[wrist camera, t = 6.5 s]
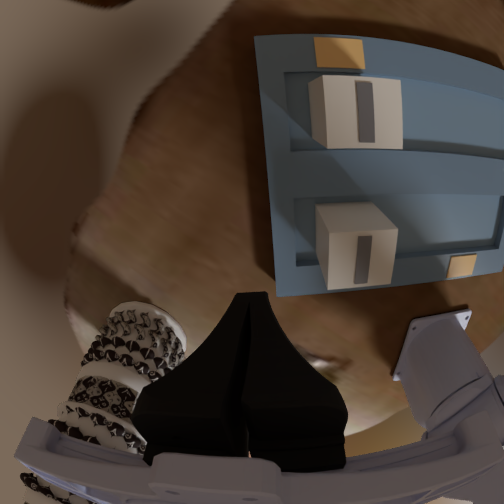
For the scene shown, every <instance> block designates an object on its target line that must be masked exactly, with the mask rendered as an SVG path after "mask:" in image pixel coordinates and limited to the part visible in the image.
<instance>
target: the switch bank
mask: <svg viewBox="0 0 504 504" xmlns="http://www.w3.org/2000/svg"><path fill="white" fill-rule="evenodd" d="M254 43H255V51H256V60H257V70H258V79H259V89H260V98H261V108H262V118H263V129H264V140H265V151H266V162H267V173H268V185H269V197H270V209H271V222H272V235H273V249H274V263H275V278H276V293H277V297H283V296H297V295H310V294H323V293H334V292H345V291H356V290H366V289H376V288H385V287H394V286H403V285H411V284H419V283H427V282H435V281H442V280H449V279H456V278H463V277H470V276H476V275H483V274H489V273H495V272H501V271H502V268H503V265H504V70H502V69H499V68H497V67H494V66H491V65H489V64H486V63H483V62H480V61H477V60H474V59H471V58H468V57H464V56H461V55H457V54H454V53H450V52H446V51H443V50H439V49H434V48H430V47H426V46H421V45H416V44H411V43H405V42H399V41H393V40H386V39H379V38H370V37H361V36H349V35H332V34H280V35H263V36H254ZM322 75H340V76H361V77H375V78H386V79H395V80H401V95H402V120H403V149H378V148H336V149H327V148H326V147H324V146H323V145H321V144H320V143H318V142H317V141H315V140H314V139H312V132H311V117H310V104H309V92H308V83H309V82H311V81H313V80H314V79H316V78H318V77H320V76H322ZM364 201H371V202H372V203H373V204H374V205H375V206H376V207H377V208H378V209H379V210H380V211H381V212H382V213H383V214H384V215H385V216H386V217H387V218H388V219H389V220H390V221H391V222H392V223H393V224H394V225H395V226H396V227H397V228H398V236H397V244H396V252H395V259H394V265H393V272H392V278H391V284H385V285H376V286H366V287H355V288H345V289H333V290H327V287H326V283H325V280H324V277H323V274H322V270H321V267H320V264H319V261H318V258H317V254H316V227H315V204H320V203H340V202H364Z"/></svg>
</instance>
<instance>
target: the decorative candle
mask: <svg viewBox="0 0 504 504" xmlns="http://www.w3.org/2000/svg"><path fill="white" fill-rule="evenodd" d="M106 321H107V323H108V325H102V327H101V328H100V329H99V331H100V333H101V335H97V336H96V337H95V339H96V340H97V341H94V342H92V344H91V348H90V349H89V350H88V353H87V354H85V356H84V360H83V361H82V362H81V367H82V369H81V370H80V372H79V374H78V376H77V378H76V383H75V387H74V388H73V390H72V393H71V394H70V396H69V399H68V401H65V402H63V403H60V404H59V405H58V413H57V416H58V417H59V419H60V421H59V420H53V419H51V420H48V423H50V424H52V425H53V426H55V427H56V428H57V429H58V430H59V431H60V433H61V434H64V435H67V436H70V437H73V438H76V439H79V440H83V441H86V442H90V443H93V444H97V445H100V446H104V447H108V448H112V449H117V450H121V451H126V452H130V453H135V454H140V455H144V452H145V448H146V444H147V442H146V441H145V440H144V438H143V437H142V436H141V435H140V434H139V432H138V431H137V430H136V429H135V427H134V426H133V424H132V422H131V416H132V413H133V410H134V407H135V404H136V401H137V399H138V397H139V395H140V393H141V391H142V389H143V387H145V386H147V385H149V384H150V383H152V382H154V381H156V380H157V379H159V378H161V377H162V376H164V375H166V374H167V373H169V372H170V371H171V370H173V369H174V368H176V367H177V366H178V365H180V364H181V363H182V360H183V358H184V352H185V351H186V336H185V334H184V331H183V329H182V327H181V325H180V324H179V323H178V322H177V321H176V320H175V319H174V318H173V317H172V316H171V315H170V314H169V313H167V312H165V311H163V310H161V309H160V308H158V307H156V306H154V305H152V304H148V303H143V302H138V301H131V302H124V303H121V304H119V305H118V306H116V307H115V308H114V309H112V311H111V313H110V316H109V317H107V318H106ZM20 478H21V480H22V481H23V483H24V484H25V486H27V489H26V492H25V495H24V497H23V500H25V503H24V504H97V503H95V502H92V501H90V500H87V499H85V498H82V497H80V496H78V495H76V494H73V493H71V492H69V491H67V490H64V489H62V488H60V487H58V486H56V485H54V484H52V483H49V482H47V481H46V480H44V479H43V478H41V477H40V476H38V475H36V477H34V476H33V473H29V474H28V473H21V475H20Z"/></svg>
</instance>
